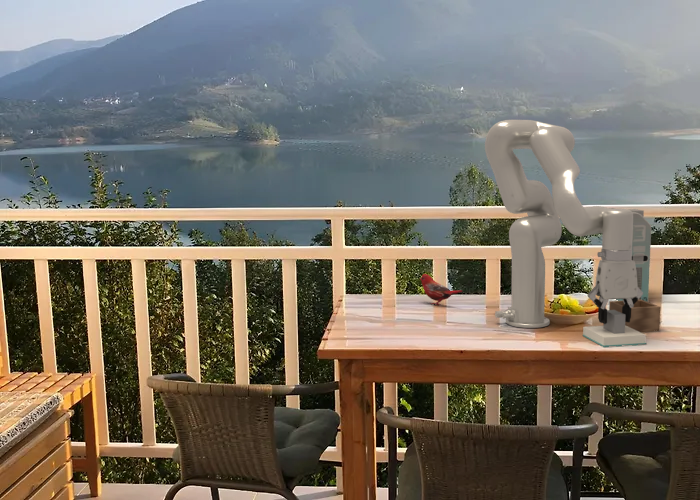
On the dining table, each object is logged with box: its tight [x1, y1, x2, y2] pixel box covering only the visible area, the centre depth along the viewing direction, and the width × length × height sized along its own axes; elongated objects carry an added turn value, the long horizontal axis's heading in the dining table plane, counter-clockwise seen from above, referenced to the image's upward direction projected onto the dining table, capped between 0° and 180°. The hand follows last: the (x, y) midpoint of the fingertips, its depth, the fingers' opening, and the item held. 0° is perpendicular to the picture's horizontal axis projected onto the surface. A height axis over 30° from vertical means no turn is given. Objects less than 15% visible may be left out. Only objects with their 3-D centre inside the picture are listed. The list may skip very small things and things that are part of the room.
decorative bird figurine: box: [419, 273, 463, 306], centre depth 255 cm, size 3×18×10 cm, turn 46°
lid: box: [582, 309, 647, 346], centre depth 210 cm, size 12×12×7 cm
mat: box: [582, 334, 647, 348], centre depth 210 cm, size 12×12×1 cm
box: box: [608, 300, 661, 333], centre depth 223 cm, size 10×10×7 cm
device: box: [609, 207, 652, 302], centre depth 260 cm, size 16×8×30 cm, turn 7°
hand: (614, 321), depth 210 cm, fingers open, 6 cm apart
